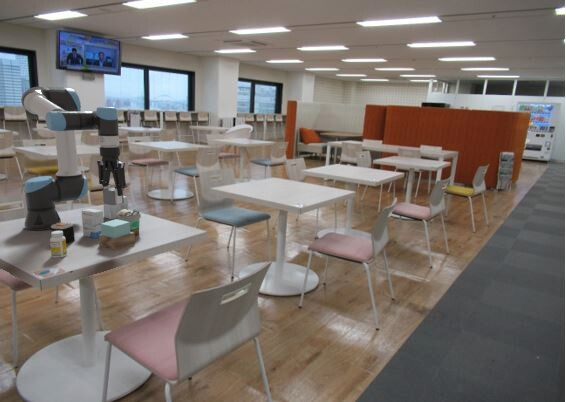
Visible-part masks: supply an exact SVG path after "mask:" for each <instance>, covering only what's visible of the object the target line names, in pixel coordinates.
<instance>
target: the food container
mask: <svg viewBox="0 0 566 402" xmlns="http://www.w3.org/2000/svg"><path fill="white" fill-rule="evenodd" d="M141 218H142V215H141V213H140V211H138V210H136V209H133V210H132V212H131V213H130V214H126V215H125V216H119V220H123V221H127V222H130V232H134V233H135V237H137V236H139V235H140V219H141Z"/></svg>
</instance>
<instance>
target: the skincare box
mask: <svg viewBox="0 0 566 402" xmlns="http://www.w3.org/2000/svg"><path fill="white" fill-rule="evenodd" d="M123 198H124V203H121V204H117V205H108V204H104V202H102V204H103V218H105V219H109V220H115V219H116V215H117V213H118V212H119V211H121V210H123V209H126V210H128V211H129V209H128V196H125V195H123Z"/></svg>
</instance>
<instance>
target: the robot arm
mask: <svg viewBox="0 0 566 402" xmlns="http://www.w3.org/2000/svg"><path fill="white" fill-rule="evenodd" d="M20 102H21V105H22V106H23V107H22V108H24V109H25V110H26V112H29V113H30V114H32V115H37V116H39V117H40V118H42V119H43V120H45V124H46V127H47V129H48V130H49V131H50V132H51V131H52V132H54V138H55V147H56V148H55V149H56V157H57V167H58V170H57V172H56V173H55V178H53V177H52V176H50V175H44V176H37V177H36V176H35V177H31V178H29V179H28V180H26V181H25V182H24V190H23V191H24V195H25V196H24V197H25V202H26V203H25V204H26V216H25V220H24V229H25V230H28V231H43V230H45V231H47V230H51V226H52V225H54V224H56V223H62V219H61V217H60V215H59V213H58V211H57V209H56V203H63V202H71V201H77V200H81V199H84V198H86V196H87V194H88V191H89V181H88V179H87V177H86V175H83V172H82V171H80V170H79V163H78V152H77V142H76V141H77V139H76V131H97V135H98V143H99V144H98V145H99V146H100V147H99V156H100V157H101V159H100V160H99V159H98V160H97V161H96V163H97V169H98V183H99V185H102V187H103V189H107V188H112V186H111V183H110V180H111V174H112V178H113V181H114V185H115V201H116V204H120V203H122V189H123V188H124V187H126V185H127V183H126V173H125V172H126V171H125V166H126V163H125V162H124V161H123V162H122V161H120V159H119V157H120V155H121V147H120V146H119V145H121V144H120V135H119V115H118V110H117V108H116V107H113V106H112V107H111V106H98V107H96V110H89V111H88V110H87V111H85V110H83V111H81V108H82V106H81V100H80V96H79V95H78V93H77V91H76V90H74V88H70V87H69V88H68V87H58V86H57V87H55V86H54V87H51V86H35V87H30V88H28V89H27V90H26V91H25V92H24V93H23V94H22V95H21V101H20Z"/></svg>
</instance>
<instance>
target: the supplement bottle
mask: <svg viewBox="0 0 566 402" xmlns="http://www.w3.org/2000/svg"><path fill="white" fill-rule="evenodd" d="M50 232H51V231H50ZM50 235H51V236H50V238H49V246H50V254H51V257H52V258H59V259H60V258H63V257H65V256H67V254H68V251H67V249H68V248H67V244H66V238H65V237H64V236H63V231H53V232H51V233H50Z"/></svg>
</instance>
